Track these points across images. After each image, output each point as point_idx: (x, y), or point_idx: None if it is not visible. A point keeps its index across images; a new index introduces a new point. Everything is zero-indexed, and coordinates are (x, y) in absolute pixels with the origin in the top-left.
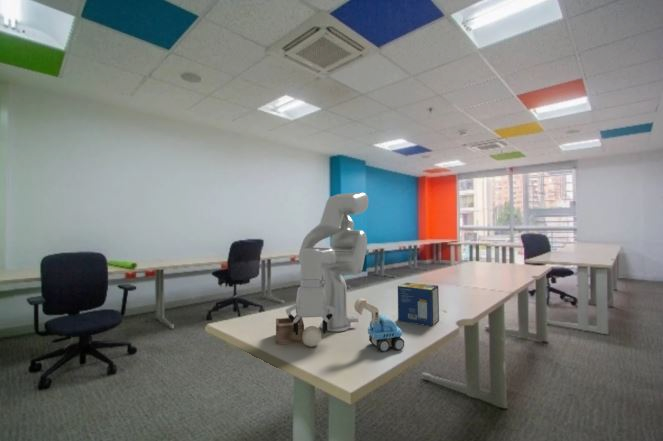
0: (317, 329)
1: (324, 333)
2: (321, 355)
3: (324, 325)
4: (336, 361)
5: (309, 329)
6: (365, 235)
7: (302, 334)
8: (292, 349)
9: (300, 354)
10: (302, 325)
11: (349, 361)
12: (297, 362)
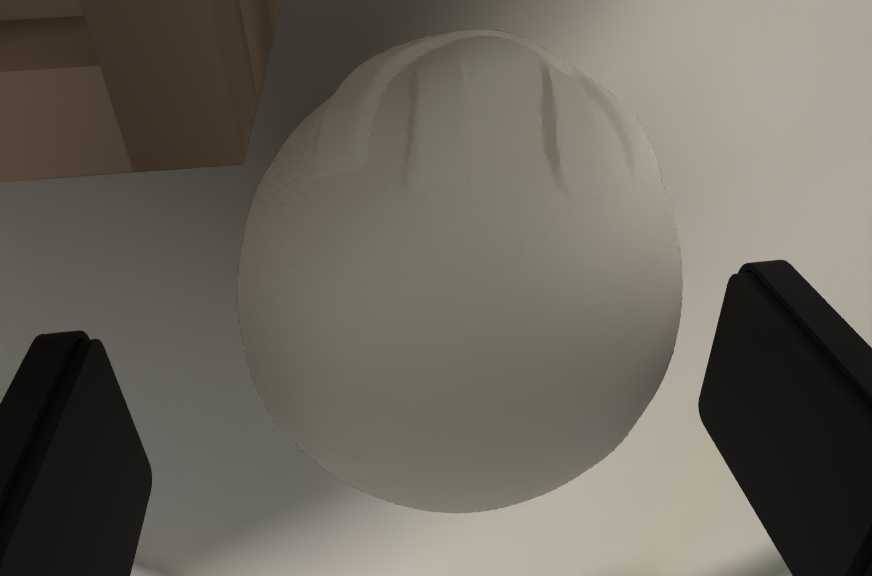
0: (607, 452)
1: (713, 420)
2: None
3: (798, 562)
4: (630, 558)
5: (414, 501)
6: None
7: (246, 353)
8: (110, 294)
9: (263, 435)
10: (183, 158)
11: (742, 559)
12: (250, 571)
